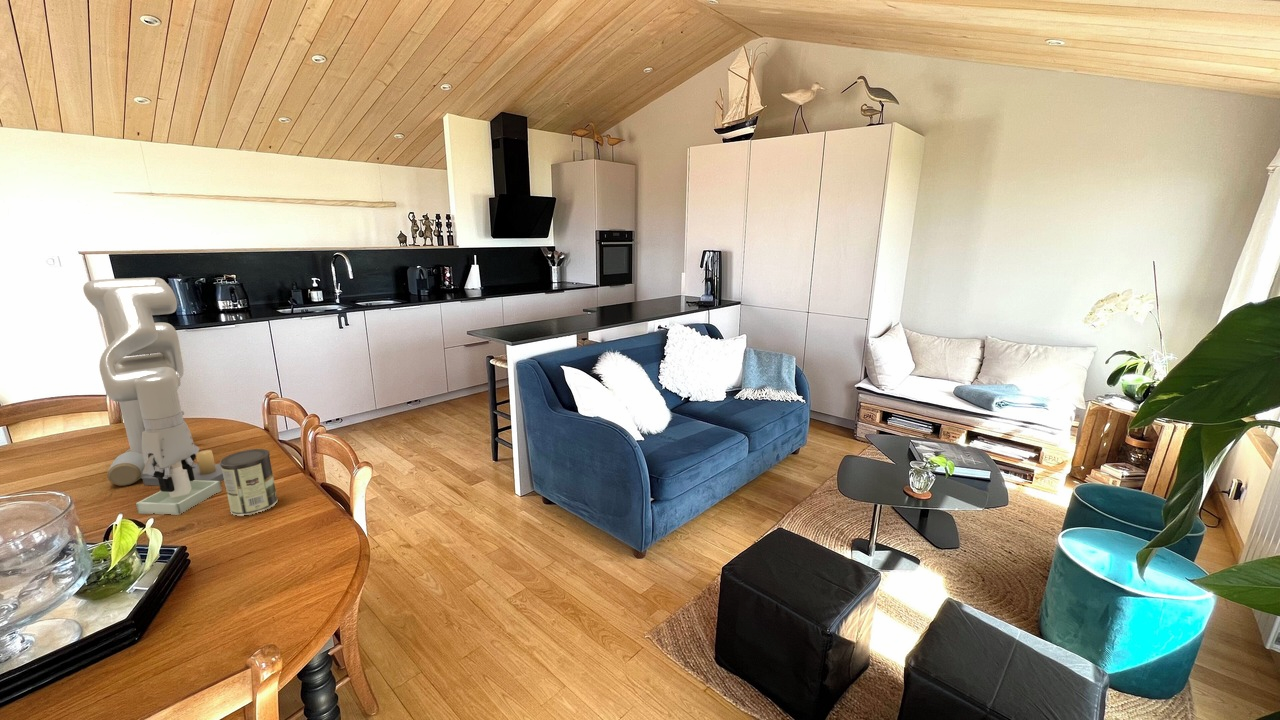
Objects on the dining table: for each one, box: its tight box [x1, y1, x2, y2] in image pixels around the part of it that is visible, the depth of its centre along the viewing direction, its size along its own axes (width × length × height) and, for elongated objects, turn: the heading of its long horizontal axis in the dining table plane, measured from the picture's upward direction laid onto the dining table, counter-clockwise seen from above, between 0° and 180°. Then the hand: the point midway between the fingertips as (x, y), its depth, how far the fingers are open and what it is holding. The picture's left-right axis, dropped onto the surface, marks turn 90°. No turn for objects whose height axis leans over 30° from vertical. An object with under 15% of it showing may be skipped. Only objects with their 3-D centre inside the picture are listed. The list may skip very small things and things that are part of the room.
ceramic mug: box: [106, 452, 155, 487], centre depth 150 cm, size 11×8×8 cm
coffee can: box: [219, 448, 279, 517], centre depth 135 cm, size 10×10×14 cm
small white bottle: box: [169, 461, 191, 498], centre depth 138 cm, size 4×4×10 cm
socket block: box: [141, 449, 224, 487], centre depth 151 cm, size 10×20×8 cm, turn 87°
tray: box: [135, 480, 223, 516], centre depth 139 cm, size 13×11×3 cm
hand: (178, 485), depth 138 cm, fingers closed on small white bottle, 5 cm apart
